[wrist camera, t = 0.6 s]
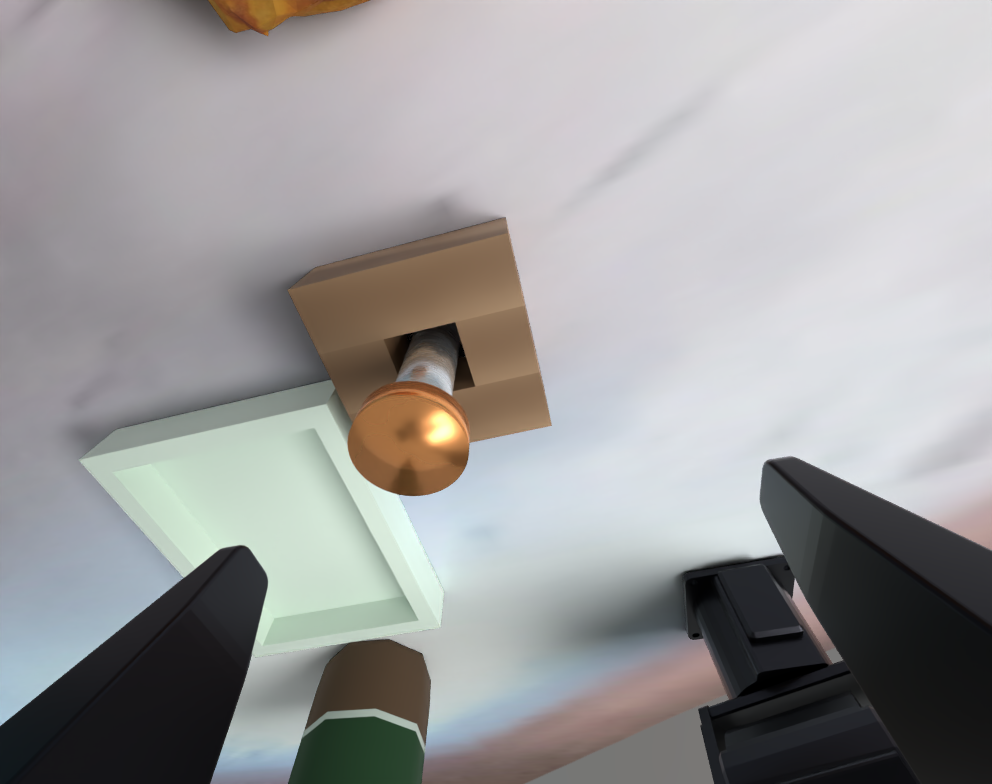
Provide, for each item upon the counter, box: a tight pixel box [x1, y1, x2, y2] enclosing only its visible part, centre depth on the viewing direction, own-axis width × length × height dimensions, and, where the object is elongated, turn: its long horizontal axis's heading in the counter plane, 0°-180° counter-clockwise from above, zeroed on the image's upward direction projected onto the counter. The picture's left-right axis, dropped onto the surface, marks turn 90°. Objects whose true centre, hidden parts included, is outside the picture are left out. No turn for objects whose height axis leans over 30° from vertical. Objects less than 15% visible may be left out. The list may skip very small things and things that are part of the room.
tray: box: [79, 380, 444, 658], centre depth 25 cm, size 16×12×2 cm
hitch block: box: [288, 217, 552, 443], centre depth 19 cm, size 8×8×3 cm
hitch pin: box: [347, 322, 470, 496], centre depth 17 cm, size 3×3×8 cm
